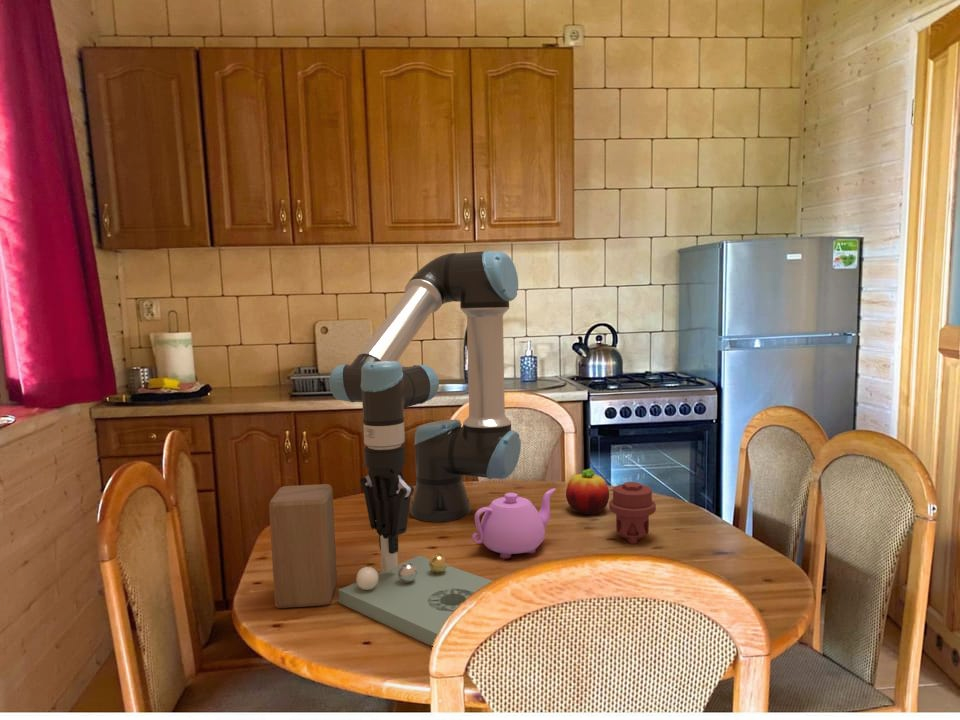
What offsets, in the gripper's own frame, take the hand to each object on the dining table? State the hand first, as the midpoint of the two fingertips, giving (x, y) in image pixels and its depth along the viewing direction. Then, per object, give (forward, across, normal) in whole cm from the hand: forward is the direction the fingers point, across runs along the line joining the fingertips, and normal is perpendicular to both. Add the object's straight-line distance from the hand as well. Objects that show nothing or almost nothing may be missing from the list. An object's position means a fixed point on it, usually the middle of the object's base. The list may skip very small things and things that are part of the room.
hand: (389, 567), depth 127 cm
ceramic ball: (0, +1, -6) cm, 7 cm away
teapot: (+4, +6, +30) cm, 31 cm away
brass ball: (0, +6, +7) cm, 9 cm away
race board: (+4, +10, 0) cm, 11 cm away
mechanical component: (+4, +23, +50) cm, 55 cm away
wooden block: (+4, -10, -12) cm, 16 cm away
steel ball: (0, +5, 0) cm, 5 cm away
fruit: (+4, +5, +60) cm, 60 cm away
